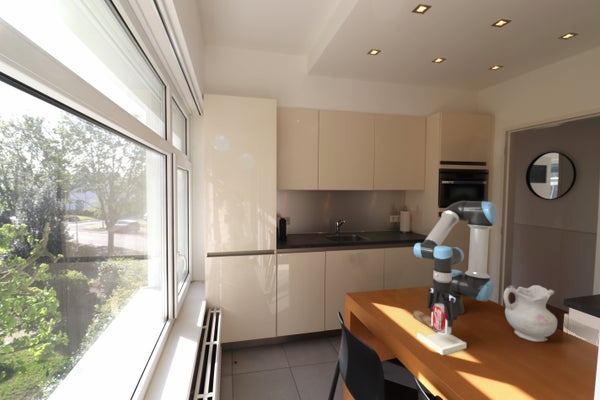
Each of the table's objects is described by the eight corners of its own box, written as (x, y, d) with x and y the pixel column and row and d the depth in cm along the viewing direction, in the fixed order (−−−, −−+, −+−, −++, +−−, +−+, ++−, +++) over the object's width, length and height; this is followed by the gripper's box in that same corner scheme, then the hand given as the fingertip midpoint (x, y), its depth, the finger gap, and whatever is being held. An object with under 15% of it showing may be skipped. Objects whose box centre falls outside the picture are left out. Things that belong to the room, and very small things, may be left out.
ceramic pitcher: (525, 350, 122) (532, 297, 119) (489, 325, 141) (494, 279, 138) (565, 346, 126) (573, 295, 123) (524, 322, 145) (530, 277, 142)
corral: (437, 327, 140) (437, 317, 140) (471, 346, 123) (471, 335, 123) (410, 333, 134) (411, 323, 134) (442, 355, 117) (442, 342, 116)
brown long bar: (442, 330, 136) (442, 323, 136) (437, 331, 135) (438, 324, 135) (417, 316, 152) (417, 309, 152) (413, 317, 151) (413, 310, 150)
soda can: (451, 335, 121) (452, 308, 121) (434, 333, 123) (435, 307, 122) (446, 327, 128) (447, 302, 128) (430, 325, 130) (431, 301, 129)
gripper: (419, 274, 133) (418, 320, 134) (455, 288, 114) (454, 342, 115) (430, 273, 135) (429, 318, 136) (468, 286, 117) (466, 338, 118)
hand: (440, 329), depth 126 cm, fingers closed on soda can, 7 cm apart
